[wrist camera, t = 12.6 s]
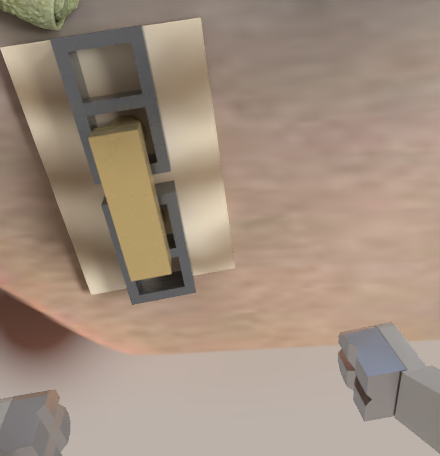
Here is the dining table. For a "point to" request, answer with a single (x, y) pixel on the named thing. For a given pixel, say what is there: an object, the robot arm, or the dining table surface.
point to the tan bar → (132, 196)
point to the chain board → (175, 136)
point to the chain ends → (159, 161)
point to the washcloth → (40, 11)
